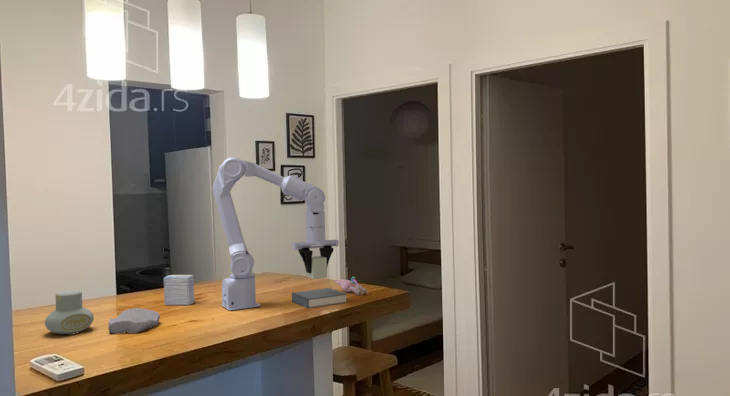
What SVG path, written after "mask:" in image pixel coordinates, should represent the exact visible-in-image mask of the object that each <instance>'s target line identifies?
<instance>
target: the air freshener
mask: <svg viewBox="0 0 730 396" xmlns="http://www.w3.org/2000/svg"><path fill="white" fill-rule="evenodd" d="M94 318H95V317H94V314H93V312H92V311H91V310H90V309H88V308H86V307H84V306H83V294H82V291H81V290H77V289H76V290H65V291H59V292H57V293H56V294H55V310H53V311H52V312H50V313H49V314H48V315H47V316H46V318H45V319H44V326H45V328H46V329H47V330H48V331H49V332H51V333H53V334H57V335H64V334H70V335H74V334H73V333H76V334H78V333H77V332H79V333H81V332H83V331H84V330H87V328H89V327H90V326H91V325H92V324H93V322H94Z"/></svg>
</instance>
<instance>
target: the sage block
mask: <svg viewBox="0 0 730 396" xmlns="http://www.w3.org/2000/svg"><path fill="white" fill-rule="evenodd" d="M311 266H312V270H311V273H307V272H306V277H307V278H310V279H312V280H317V279H327V278H328V272H327V271H328V270H327V269H328V266H327V258H326V257H322V256H321V255H319V256H316V255H315V256H312V260H311Z"/></svg>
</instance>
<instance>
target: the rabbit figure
mask: <svg viewBox="0 0 730 396" xmlns="http://www.w3.org/2000/svg"><path fill="white" fill-rule="evenodd" d="M333 283H336V284H337V285H339V286H340V287H341V289H342V290H343V291H344V292H347V293H348V292H349V293H351V292H353V293H355V295H356V296H363V295H365V294H367V295H369V294H370V291H369V289H367V288H364V286H363V285H360V284H359V283H358V281H357V280H356V276H352V277H351V278H350V280H349V279H339V280H333Z"/></svg>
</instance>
